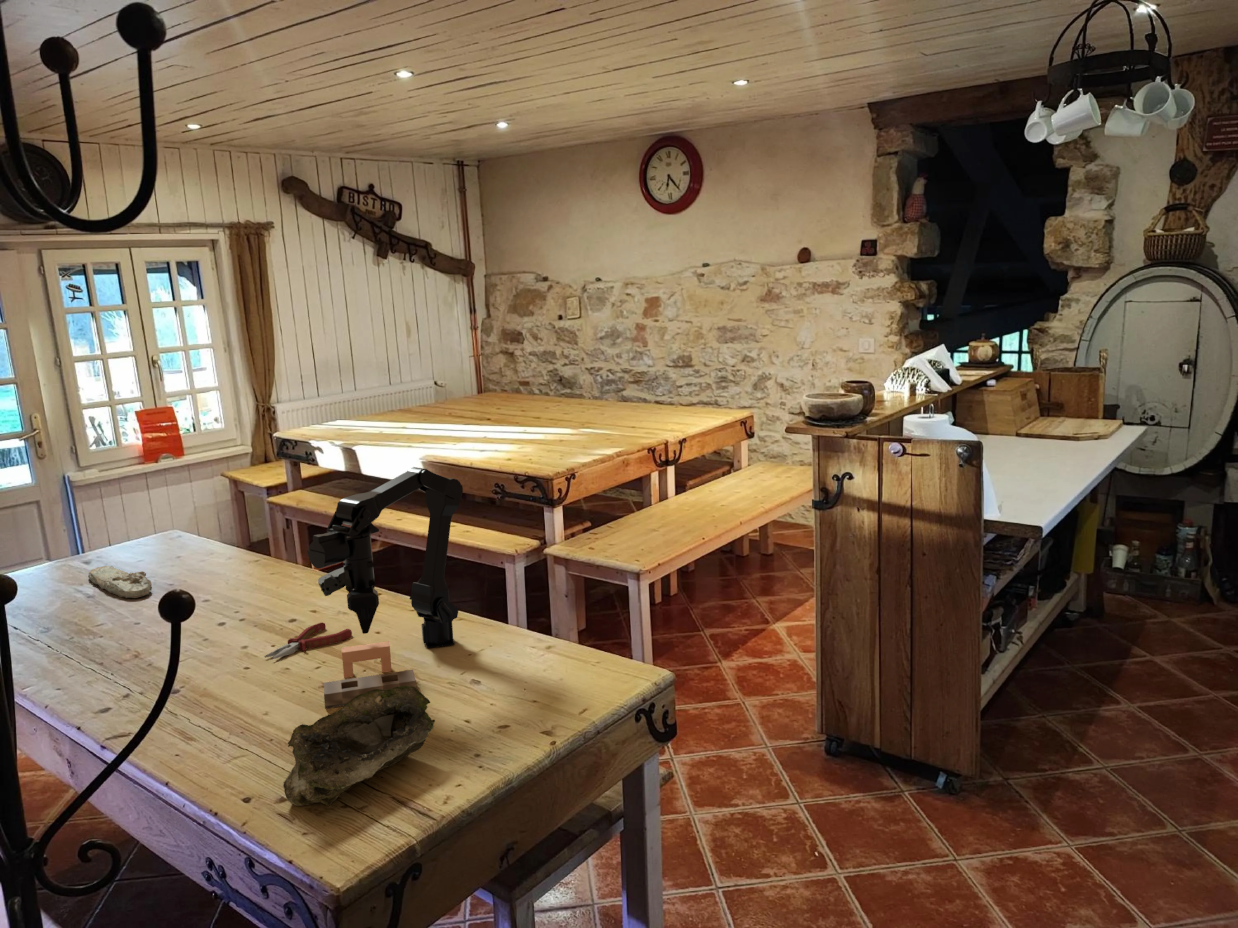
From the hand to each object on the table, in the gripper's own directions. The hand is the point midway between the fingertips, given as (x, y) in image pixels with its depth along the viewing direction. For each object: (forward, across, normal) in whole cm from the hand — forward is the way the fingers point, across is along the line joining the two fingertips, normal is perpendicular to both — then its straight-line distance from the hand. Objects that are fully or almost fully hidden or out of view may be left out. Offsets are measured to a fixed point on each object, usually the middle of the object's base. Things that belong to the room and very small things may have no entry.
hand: (364, 625), depth 194 cm
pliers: (+12, -24, -13) cm, 30 cm away
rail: (+11, +12, 0) cm, 16 cm away
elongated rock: (+11, -91, -65) cm, 112 cm away
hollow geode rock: (+11, +46, -3) cm, 47 cm away
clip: (+11, 0, 0) cm, 11 cm away
